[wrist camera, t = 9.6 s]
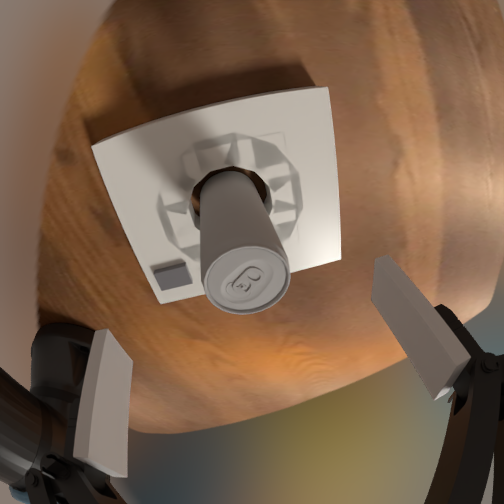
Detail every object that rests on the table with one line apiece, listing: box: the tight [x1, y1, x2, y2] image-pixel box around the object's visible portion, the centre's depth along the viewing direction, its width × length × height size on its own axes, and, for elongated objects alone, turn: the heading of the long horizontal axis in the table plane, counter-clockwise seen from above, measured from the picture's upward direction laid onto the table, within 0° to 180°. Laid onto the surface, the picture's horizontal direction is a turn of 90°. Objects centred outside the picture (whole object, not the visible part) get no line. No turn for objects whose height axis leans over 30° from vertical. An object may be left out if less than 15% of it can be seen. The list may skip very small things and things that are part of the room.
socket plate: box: [91, 86, 341, 304], centre depth 24 cm, size 18×16×3 cm
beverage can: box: [200, 171, 291, 315], centre depth 20 cm, size 5×5×12 cm
